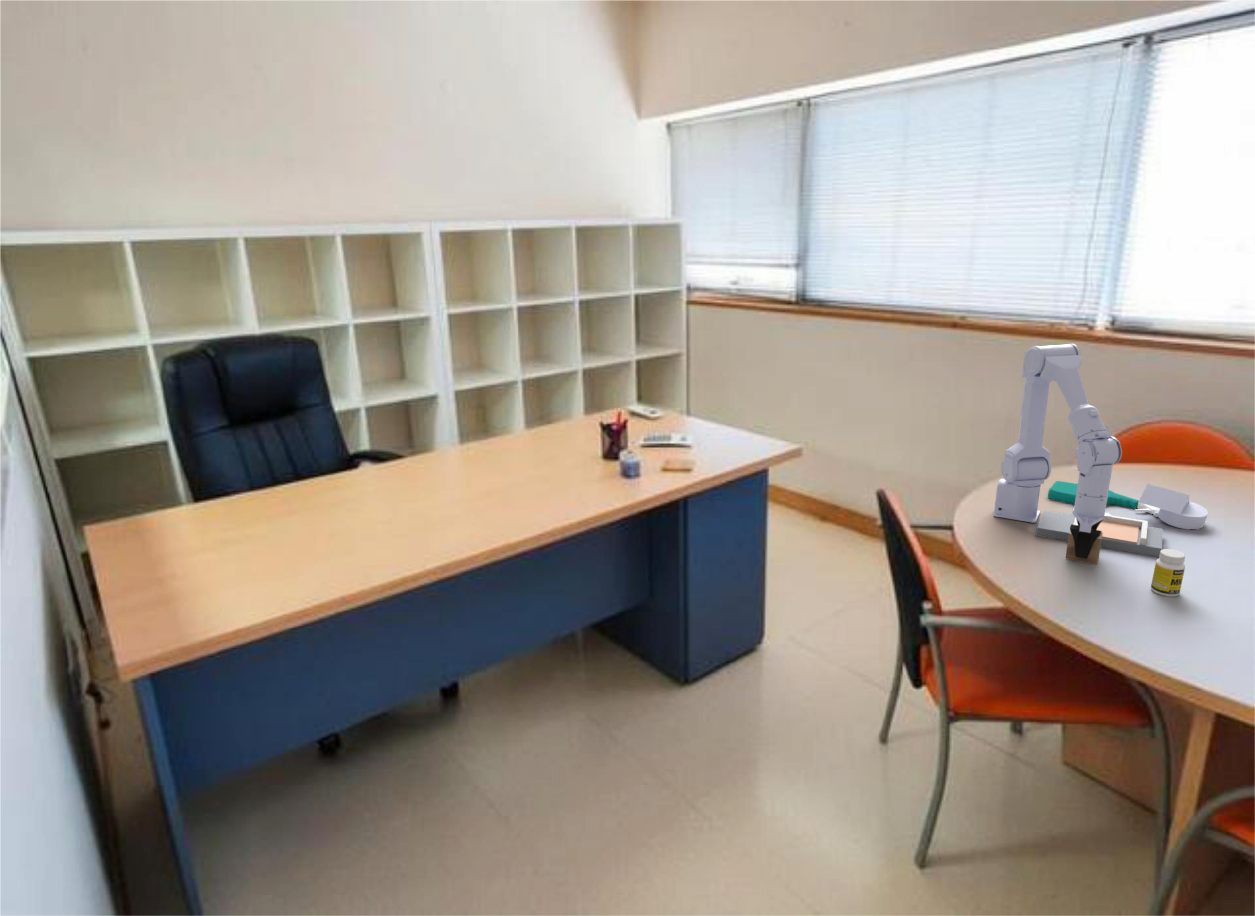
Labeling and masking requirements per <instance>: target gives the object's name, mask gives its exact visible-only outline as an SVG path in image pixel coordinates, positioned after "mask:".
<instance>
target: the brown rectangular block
mask: <svg viewBox="0 0 1255 916" xmlns="http://www.w3.org/2000/svg"><path fill="white" fill-rule="evenodd" d="M1102 534H1103V532H1101V534H1100V536H1099V537H1098V538H1097V539H1096V540H1095V542H1094V544H1093V546H1092V548H1091V551H1090V553H1089V556H1088V558H1087V559H1084V558H1079V557H1076V555H1075V544H1074V538H1073V535H1072V533H1071V531H1070V532H1069V537H1068V541H1067V544H1066V553H1065V558H1066V559H1067V560H1072V561H1076V562H1081V561H1082V563H1087V564H1093V565H1098V564H1099V563H1098V562H1099V557H1100V552H1101V548H1102V547H1101V540H1102Z"/></svg>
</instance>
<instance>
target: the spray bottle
mask: <svg viewBox="0 0 1255 916" xmlns="http://www.w3.org/2000/svg"><path fill="white" fill-rule="evenodd" d="M1077 486H1078V483H1075V482H1068V481H1060V480H1055V482H1053V484H1052V485H1051V487H1050V488H1049V489H1048V493H1047V494H1048V495H1047V498H1048V499H1049V500H1053V501H1055V502H1061V503H1064V502H1065V504H1069V505H1074V504H1075V499H1076V492H1077ZM1110 504H1112V505H1115V506H1117V505H1118V506H1117V507H1123V506H1124V508H1130V509H1132V508H1133V510H1134V511H1135V512H1144V513H1148V514H1150V515H1152V514H1153V516H1154V517H1157V518H1159V517H1158V513H1159V510H1160V508H1157V507H1153V506H1150V505H1146V504H1143V503H1139V499H1135V498H1133V497H1129V496H1125V495H1122V494H1119V493H1116V492H1114V491H1112V490H1109V492H1108V498H1107V504H1106V506H1110ZM1136 508H1138V509H1136Z"/></svg>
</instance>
